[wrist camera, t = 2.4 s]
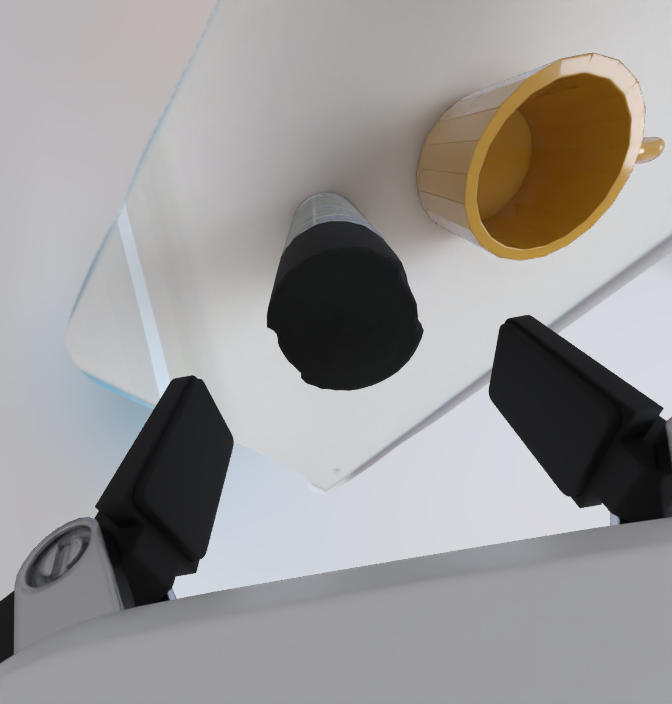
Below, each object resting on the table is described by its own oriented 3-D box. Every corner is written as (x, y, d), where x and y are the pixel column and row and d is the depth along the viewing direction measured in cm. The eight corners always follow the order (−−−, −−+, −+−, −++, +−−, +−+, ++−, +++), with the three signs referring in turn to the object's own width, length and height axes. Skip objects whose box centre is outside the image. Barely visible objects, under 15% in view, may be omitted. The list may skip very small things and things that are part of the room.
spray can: (310, 275, 31) (312, 414, 14) (277, 209, 27) (228, 294, 10) (369, 247, 30) (447, 364, 13) (344, 176, 26) (407, 211, 9)
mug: (416, 239, 29) (458, 272, 21) (416, 103, 24) (474, 75, 15) (555, 214, 29) (653, 237, 21) (590, 69, 23) (746, 22, 15)
